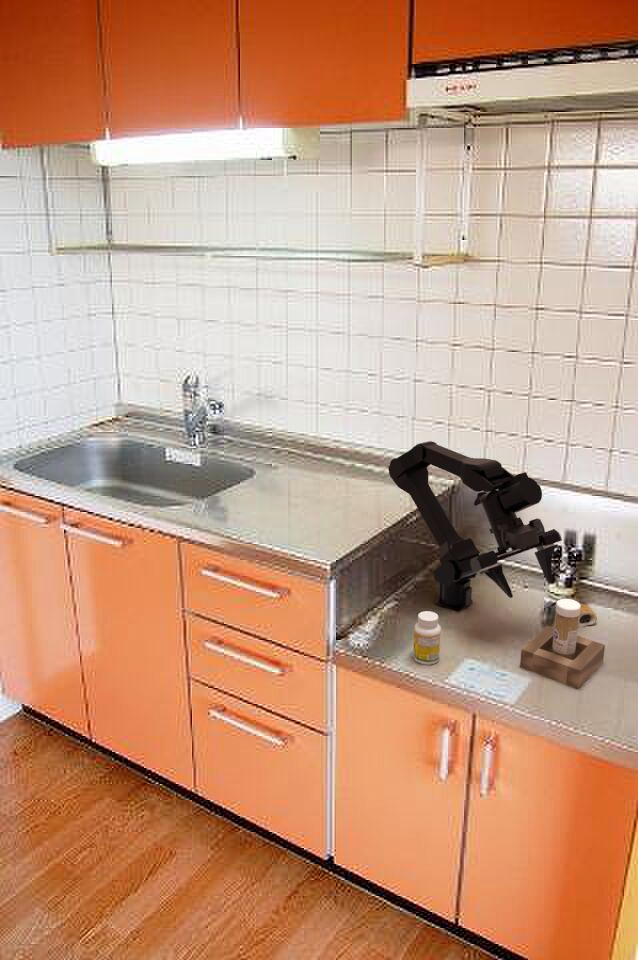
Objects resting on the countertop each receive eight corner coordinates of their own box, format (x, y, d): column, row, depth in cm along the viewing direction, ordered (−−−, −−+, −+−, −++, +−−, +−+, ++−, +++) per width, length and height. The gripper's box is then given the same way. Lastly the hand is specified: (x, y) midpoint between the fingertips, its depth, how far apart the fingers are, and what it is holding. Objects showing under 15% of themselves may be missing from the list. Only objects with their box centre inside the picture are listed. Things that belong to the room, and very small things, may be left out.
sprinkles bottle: (545, 660, 158) (551, 600, 153) (563, 655, 160) (569, 596, 155) (561, 672, 154) (567, 610, 150) (579, 666, 156) (586, 605, 151)
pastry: (550, 609, 179) (551, 594, 177) (577, 606, 180) (578, 591, 179) (572, 629, 170) (574, 614, 169) (600, 626, 172) (602, 610, 170)
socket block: (519, 667, 156) (521, 649, 154) (546, 642, 164) (548, 625, 163) (578, 689, 148) (580, 670, 147) (602, 662, 157) (605, 645, 156)
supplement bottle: (435, 667, 156) (437, 624, 153) (409, 662, 158) (411, 619, 155) (442, 654, 160) (445, 612, 157) (417, 649, 162) (419, 607, 159)
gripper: (475, 525, 154) (505, 601, 151) (558, 497, 158) (589, 570, 155) (457, 535, 164) (485, 606, 162) (535, 508, 168) (563, 577, 166)
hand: (531, 590), depth 161 cm, fingers open, 9 cm apart
